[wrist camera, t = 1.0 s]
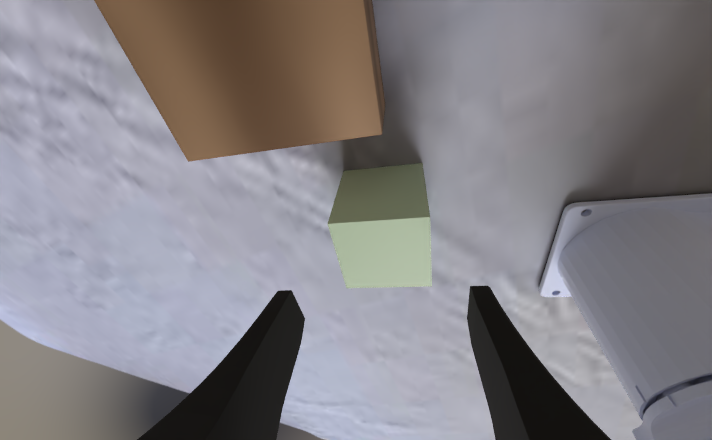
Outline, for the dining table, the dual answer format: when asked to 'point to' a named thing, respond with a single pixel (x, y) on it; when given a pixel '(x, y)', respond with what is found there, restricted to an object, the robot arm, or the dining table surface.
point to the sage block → (382, 227)
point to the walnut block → (254, 70)
